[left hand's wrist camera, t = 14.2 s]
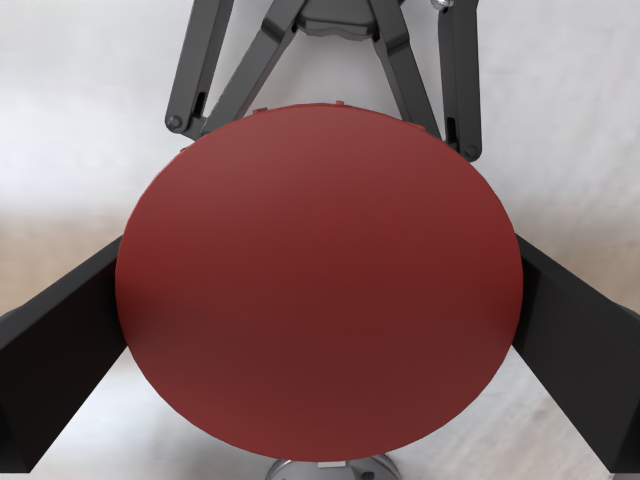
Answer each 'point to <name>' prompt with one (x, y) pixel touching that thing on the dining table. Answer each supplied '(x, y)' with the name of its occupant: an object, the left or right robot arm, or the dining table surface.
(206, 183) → the lid
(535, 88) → the dining table surface
